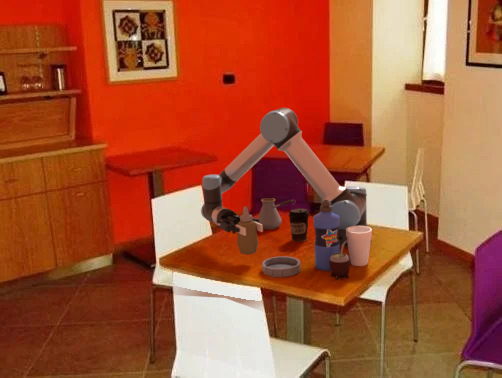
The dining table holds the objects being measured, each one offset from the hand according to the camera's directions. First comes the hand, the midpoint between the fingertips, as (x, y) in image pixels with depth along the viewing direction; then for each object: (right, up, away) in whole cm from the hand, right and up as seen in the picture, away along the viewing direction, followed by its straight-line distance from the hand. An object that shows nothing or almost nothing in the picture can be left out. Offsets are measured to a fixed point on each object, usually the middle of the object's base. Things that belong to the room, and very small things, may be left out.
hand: (253, 230), depth 222 cm
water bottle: (+27, -14, 0) cm, 30 cm away
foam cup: (+39, -12, +1) cm, 41 cm away
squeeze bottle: (-2, -9, +7) cm, 11 cm away
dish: (+10, -15, -2) cm, 18 cm away
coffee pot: (+11, -3, +49) cm, 51 cm away
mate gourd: (+30, -16, -11) cm, 36 cm away
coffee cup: (+20, -7, +32) cm, 38 cm away
